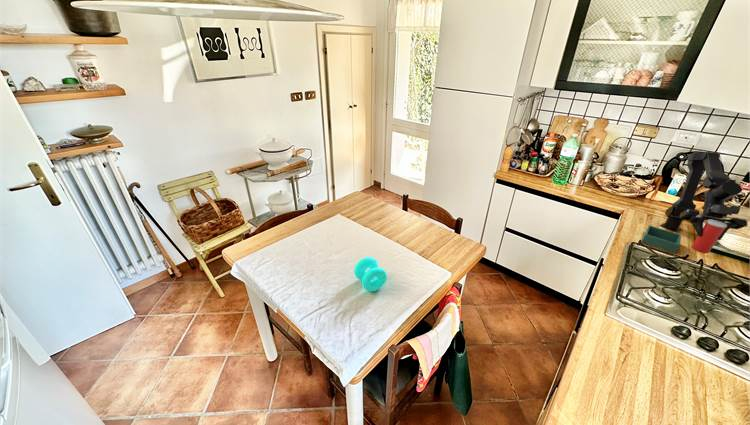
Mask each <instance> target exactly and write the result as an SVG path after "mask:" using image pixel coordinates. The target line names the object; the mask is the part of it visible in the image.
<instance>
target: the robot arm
mask: <svg viewBox="0 0 750 425" xmlns="http://www.w3.org/2000/svg"><path fill="white" fill-rule="evenodd" d="M720 157H721V154H720V153H719V152H714V151H703V152H699V151H693V152H692V153H689V155H688V157H687V159H686V160H687V163H686V166H687V168H688V174H687V176H686V180H685V182H684V185H683V187H682V190H681V193H680V197H679V198H678V199H677V200H676V201H674V202H673V203H672V205H671V206H669V207H668V208H667V209H665V212H664V215H665V216H666V217H667V218H666V220H665V221H664V223H662V224H660V225H659V226H660V227H662V228H664V229H666V230H668V231H671V232H678V231H680V230H682V228H681V225H682V223H683V221H687V222H688V223H690V224H691V225H692V227H693V228H694V230H695V232H696V234H697V236H698V235H699V236H702V233H703V227H704V222H705V221H707V220H709V219H712V220H717V221H721V222H723V223H725V224H726V225H727V227H726V228H725V229H724V231H723V232H722V234H721V235H720V237H719V238H718V240H717V241H721V240H722V238H723V237H724V236H725V234H726V233H727V232H728V231H729V230H730V229H732V230H740V229H742V228H745V227H747V226H748V220H747V219H745V218H739V217H732V218H729V219H728V218H726V217H728V216H732V215H738V214H739V213H740V211H741V210H740V208H741V207H740V206H739V205H730V206H727V204H725V202H726V200H729V199H731V198H733V197H735V196H737V195H739V194H741V193H742V191H743V188H742V186H741V185H740V184H739V183H737V180H736V179H731V178H730V176H729V175H728V174H727V173H725V172H724V170H723V167H722V163H721V160H720V159H721V158H720ZM704 171H705V177H704V178H703V180H702V186H703V188H704V189H708V190H707V191H706V192H705V193H704V194H703V196H702V197H703V198H704V201H703V205H702V206H701V210H702V213H700V210H696V207H697V204H695V203H694V198H695V196H696V192H697V190H698V187H699V184H700V183H701V182H700V181H701V178H702V176H703V173H704Z"/></svg>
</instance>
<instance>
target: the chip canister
mask: <svg viewBox="0 0 750 425" xmlns="http://www.w3.org/2000/svg"><path fill="white" fill-rule="evenodd" d="M726 227H727V225H726V224H725V223H723V222H721V221H717V220H712V219H709V220H706V223H705V224H704V225H703V233H702V236H699V235H698V234H697V237H696V239H695V240H694V242H693V243H692V245H690V246H691V249H692V250H694V251H696V252H698V253H702V254H710V252H711V250H712V248H713V247H714V245H715V244H717V241H719V240H718V238H719V237H720V235H721V234H722V232H723V231H724V229H725V228H726Z"/></svg>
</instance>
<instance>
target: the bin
mask: <svg viewBox="0 0 750 425" xmlns="http://www.w3.org/2000/svg"><path fill="white" fill-rule="evenodd" d="M681 239H682V234H680V233H676V232H674V231H671V230H668V229H663V228H660V227H656V226H653V225H648V226H647V228H646V230H645V232H644V233H643V237H642V239H641V243H642V244H645V245H648V246H651V247H654V248H658V249H660V250H663V251H667V252H669V253H673V254H676V252H677V250H678V249H679V247H680V245H681Z"/></svg>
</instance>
